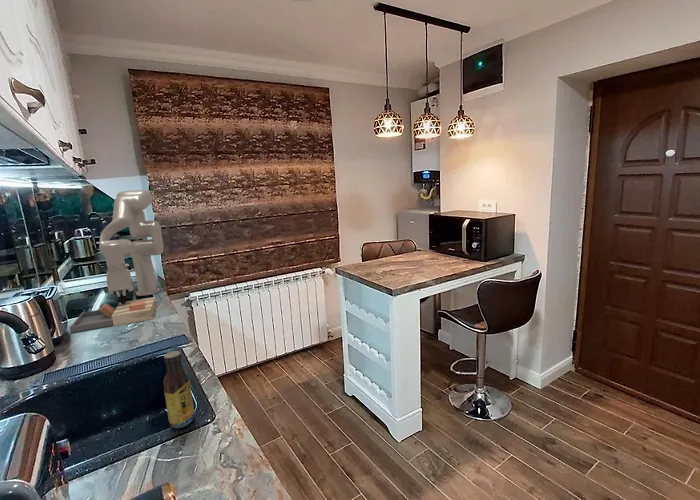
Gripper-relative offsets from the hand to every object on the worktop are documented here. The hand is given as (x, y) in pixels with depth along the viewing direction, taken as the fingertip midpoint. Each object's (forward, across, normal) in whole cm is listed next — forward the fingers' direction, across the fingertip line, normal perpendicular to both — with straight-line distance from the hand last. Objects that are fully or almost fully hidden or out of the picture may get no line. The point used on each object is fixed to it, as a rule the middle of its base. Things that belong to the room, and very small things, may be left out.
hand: (123, 303), depth 180 cm
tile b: (+1, -7, +10) cm, 12 cm away
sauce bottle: (+6, -28, +105) cm, 109 cm away
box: (+6, +11, +5) cm, 13 cm away
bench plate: (+6, -5, +5) cm, 9 cm away
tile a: (+1, +6, +1) cm, 6 cm away
